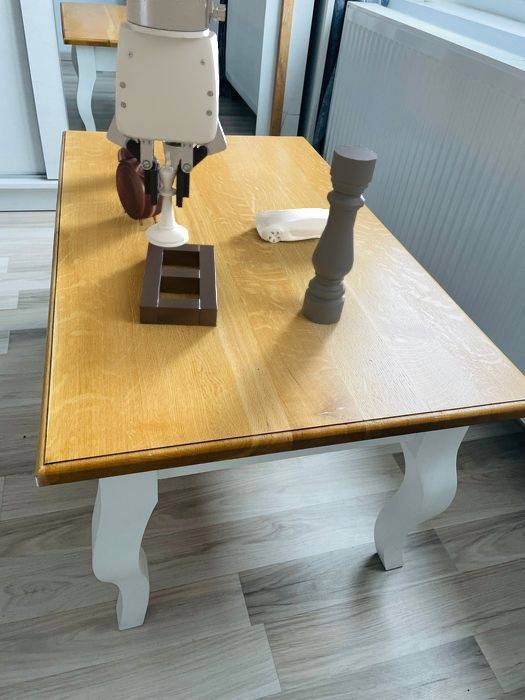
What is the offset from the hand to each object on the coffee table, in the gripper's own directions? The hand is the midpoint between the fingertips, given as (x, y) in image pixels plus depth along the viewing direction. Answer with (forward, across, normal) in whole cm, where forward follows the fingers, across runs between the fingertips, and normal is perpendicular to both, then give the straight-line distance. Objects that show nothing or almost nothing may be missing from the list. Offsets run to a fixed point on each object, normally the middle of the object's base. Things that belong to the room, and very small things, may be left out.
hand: (167, 200), depth 62 cm
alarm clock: (+21, +7, -39) cm, 45 cm away
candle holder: (+21, -23, -11) cm, 33 cm away
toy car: (+21, -24, -38) cm, 49 cm away
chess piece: (+5, 0, 0) cm, 5 cm away
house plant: (+21, +3, -66) cm, 70 cm away
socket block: (+21, -1, -15) cm, 26 cm away
